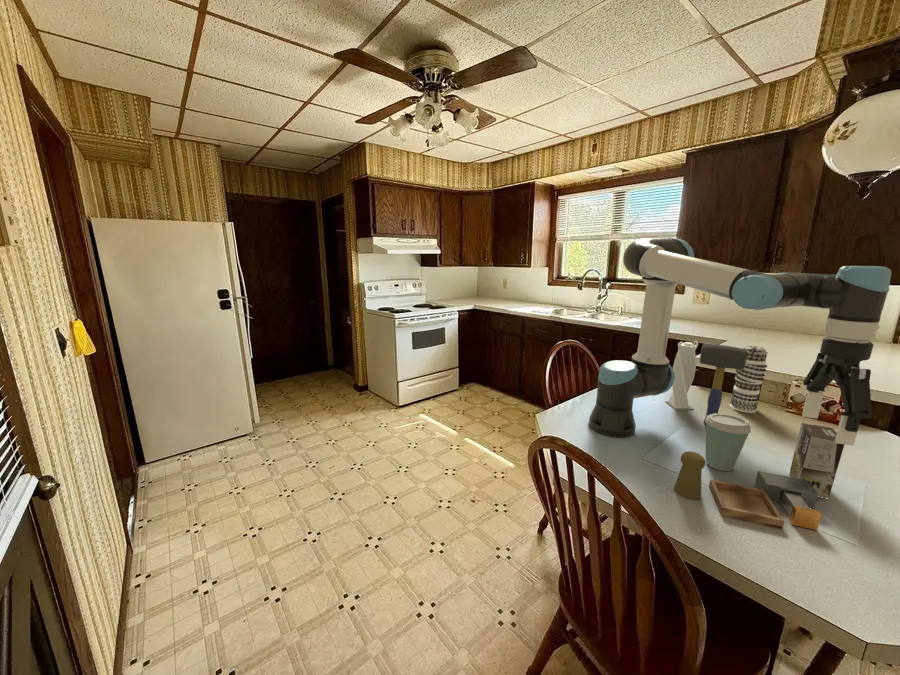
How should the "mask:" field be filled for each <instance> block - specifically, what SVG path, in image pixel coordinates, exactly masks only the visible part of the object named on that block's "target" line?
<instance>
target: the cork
mask: <svg viewBox="0 0 900 675" xmlns="http://www.w3.org/2000/svg"><path fill="white" fill-rule="evenodd" d="M680 461H681V464H682V465H681V468H680V470H679V474H678V476H677V479H676V481H675V484H674V487H673V490H674V492H675V493H676V494H677V495H678V496H680V497H682V498H684V499H687V500H692V501H697V500H700V499H701V498H702V470H703V469H704V468H705V466H706V458H705V457H704V456H703V455H701V454H700V453H697V452H695V451H684V452H683V453H682V454H681V456H680Z"/></svg>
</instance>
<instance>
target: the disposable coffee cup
mask: <svg viewBox="0 0 900 675" xmlns="http://www.w3.org/2000/svg"><path fill="white" fill-rule="evenodd" d="M705 417H706V416H705ZM704 419H705V418H704ZM705 422H706V427H705V463H706V462H707V463H706V464H707V465H708V464H709V465H710V468H711V467H712V468H713V469H716V470H718V469H719V471H721V470H722V471H723V472H729V471H732V470H733V469H734V468H735V466H736V463H737V461H738V459H739V456H740V455H741V452H742V449H743V448H744V445H745V443H746V440H747V438H748V437H749V434H750V433H751V432H752V430H751V429H752V428H751V425H750V421H749V420H748V419H745V418H744V417H740V416H737V415H733V414H729V413H719V412H718V413H714V414H710V415H708V416H707V417H706V419H705ZM709 465H708V466H709Z"/></svg>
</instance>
